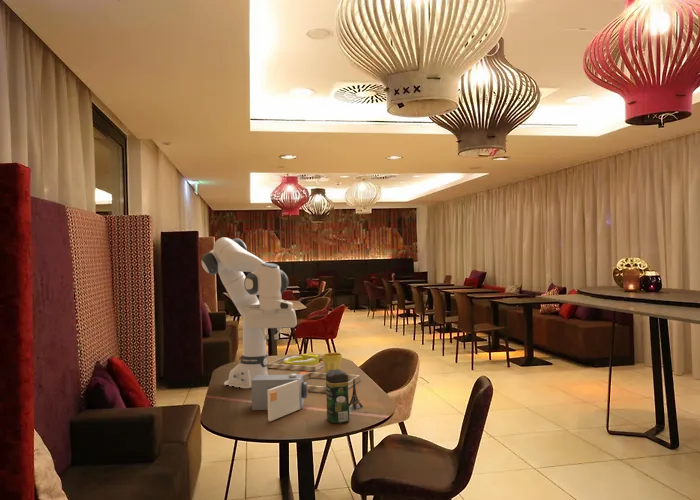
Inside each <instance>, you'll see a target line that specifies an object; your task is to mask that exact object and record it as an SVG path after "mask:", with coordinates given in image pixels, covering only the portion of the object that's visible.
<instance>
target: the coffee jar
mask: <svg viewBox="0 0 700 500" xmlns="http://www.w3.org/2000/svg"><path fill="white" fill-rule="evenodd" d="M325 373H326V372H325ZM348 375H349V374H348V373H346V371H344V370H341V369H335V370H329V371H328V372H327V373H326V379H325V387H326V393H325V395H326V418H327V420H328V421H329V422H330V423H331V424H344V423H346V422H349V421H350V413H349V407H350V406H349V403H350V400H349V397H350V396H349V389H348V382H349V380H348Z"/></svg>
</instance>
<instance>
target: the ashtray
mask: <svg viewBox="0 0 700 500" xmlns="http://www.w3.org/2000/svg"><path fill="white" fill-rule="evenodd" d="M293 356H294V357H288V358H285V359H284V360H283V363H282V364H285V365H303V366H314V365H316V364H318V363H320V362H319V357H320V355H319V354H315V353H302V354H301V356H300V355H293ZM299 356H300V357H299Z"/></svg>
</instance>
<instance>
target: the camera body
mask: <svg viewBox="0 0 700 500" xmlns="http://www.w3.org/2000/svg"><path fill="white" fill-rule="evenodd" d="M303 375H304V374H301V373H299V374H298V373H289V374H268V375H256V376H255V377H254V378H253V379H252V388H251V409H252V411H268V395H267V390H269V389H272V388H275V387H278V386H280V385H283V384H286V383H289V382H292V381H295V380H297V378H300V383H301V409H300V410H302V409H303V406H304V405H305V399H307V398H308V387H307V385H308V382H307V381H303Z"/></svg>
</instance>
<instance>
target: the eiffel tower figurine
mask: <svg viewBox="0 0 700 500" xmlns="http://www.w3.org/2000/svg"><path fill="white" fill-rule="evenodd" d="M356 389H357V388H356V384H355V379H353V386H352V395H351V399H350V400H349V414H350V413H352V414H353V413H355V412H356V411H358V410H361V409H364V406H363V405H362V403H361V402H360V400H359V399H358V395H357V391H356ZM358 413H359V414H361V413H364V411H358Z"/></svg>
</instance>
